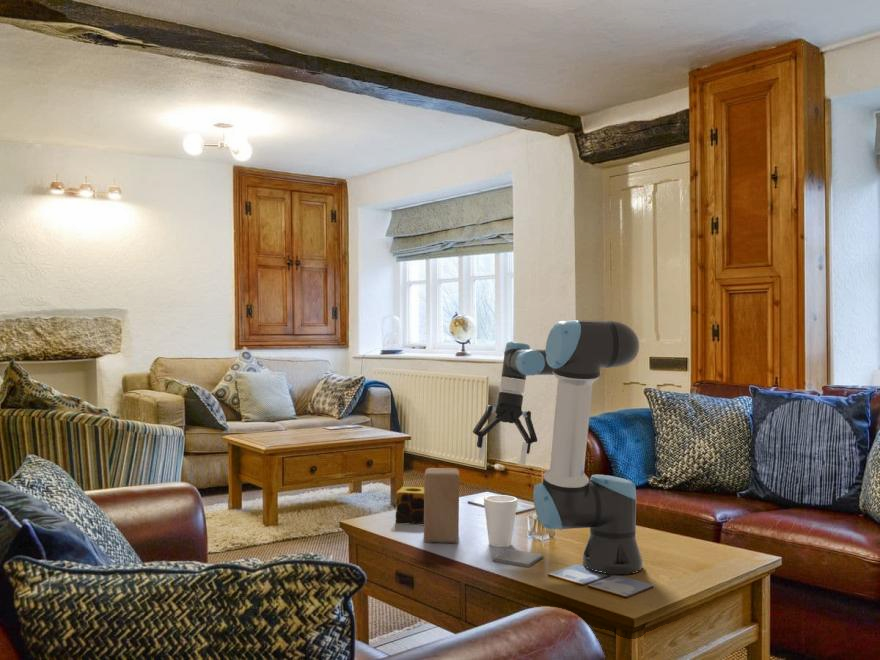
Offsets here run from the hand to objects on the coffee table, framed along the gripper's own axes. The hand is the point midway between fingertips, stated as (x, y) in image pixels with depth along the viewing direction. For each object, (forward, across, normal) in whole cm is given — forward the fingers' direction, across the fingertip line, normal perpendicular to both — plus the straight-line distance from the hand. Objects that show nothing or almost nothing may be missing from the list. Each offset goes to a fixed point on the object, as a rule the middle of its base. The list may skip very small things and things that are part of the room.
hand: (501, 461), depth 236 cm
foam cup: (+22, +2, +14) cm, 26 cm away
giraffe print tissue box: (+24, +20, -17) cm, 36 cm away
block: (+24, +17, +5) cm, 30 cm away
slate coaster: (+22, +1, +29) cm, 36 cm away
